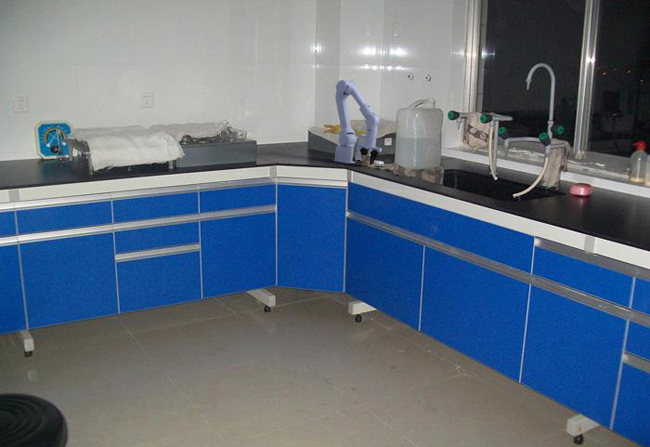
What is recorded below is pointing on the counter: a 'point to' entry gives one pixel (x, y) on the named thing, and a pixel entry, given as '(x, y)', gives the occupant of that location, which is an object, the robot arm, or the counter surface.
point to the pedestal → (378, 163)
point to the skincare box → (358, 154)
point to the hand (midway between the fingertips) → (367, 163)
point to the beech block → (366, 161)
